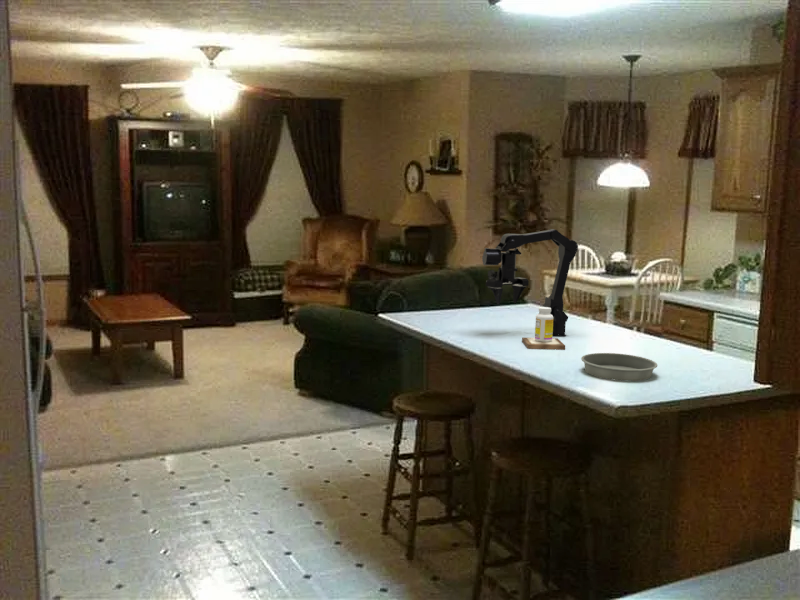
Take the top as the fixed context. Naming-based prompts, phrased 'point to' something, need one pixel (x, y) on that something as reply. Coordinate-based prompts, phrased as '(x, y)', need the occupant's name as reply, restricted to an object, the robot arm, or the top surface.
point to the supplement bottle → (544, 325)
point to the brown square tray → (543, 344)
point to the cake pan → (618, 366)
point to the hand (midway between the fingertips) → (506, 303)
